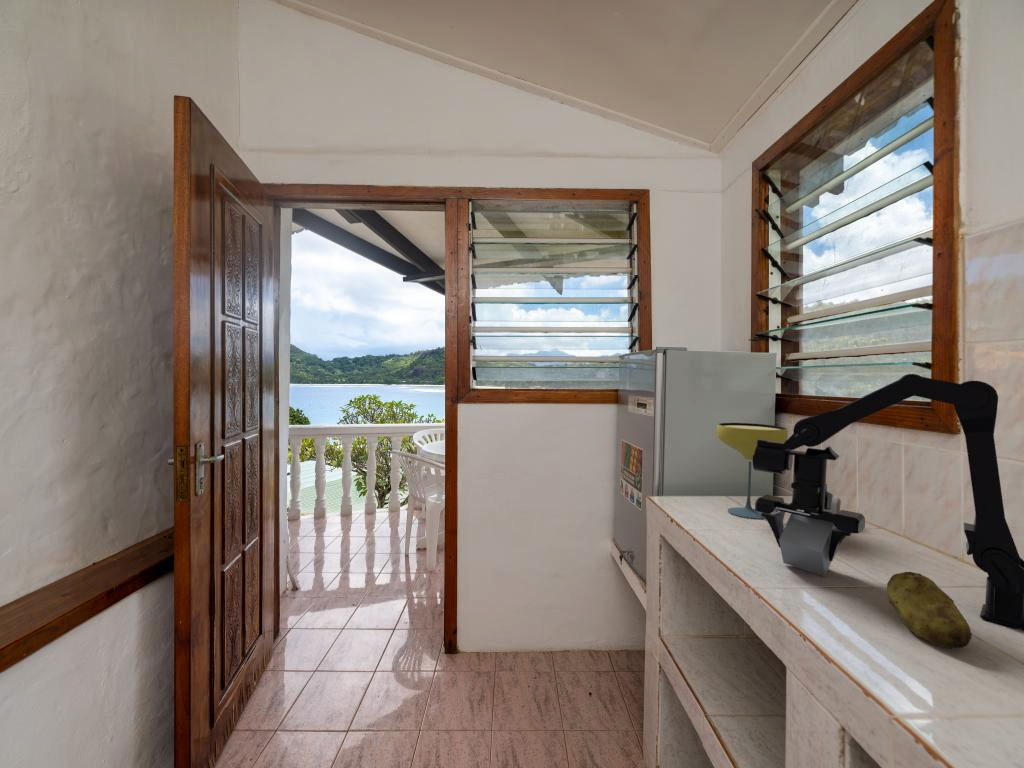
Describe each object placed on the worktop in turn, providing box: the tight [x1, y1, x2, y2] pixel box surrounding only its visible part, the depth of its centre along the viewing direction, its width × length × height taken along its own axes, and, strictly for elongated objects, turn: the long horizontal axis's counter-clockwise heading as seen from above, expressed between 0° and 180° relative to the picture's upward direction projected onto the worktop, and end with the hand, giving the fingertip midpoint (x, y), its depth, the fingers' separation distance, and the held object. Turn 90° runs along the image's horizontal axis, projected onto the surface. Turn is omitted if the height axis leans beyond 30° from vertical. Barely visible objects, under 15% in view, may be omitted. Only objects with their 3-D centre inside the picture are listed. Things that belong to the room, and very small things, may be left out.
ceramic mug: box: [811, 496, 842, 523], centre depth 139 cm, size 11×8×8 cm
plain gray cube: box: [779, 513, 835, 577], centre depth 102 cm, size 8×8×7 cm
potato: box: [886, 571, 973, 650], centre depth 78 cm, size 8×13×8 cm, turn 157°
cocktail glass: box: [716, 422, 789, 520], centre depth 143 cm, size 18×18×25 cm
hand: (805, 554), depth 103 cm, fingers open, 9 cm apart
